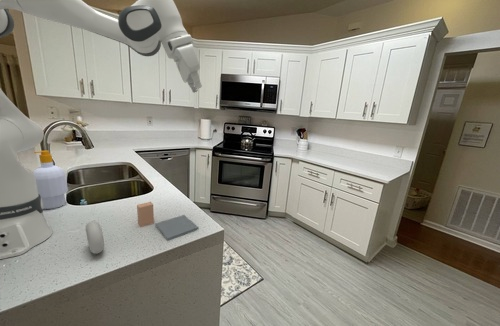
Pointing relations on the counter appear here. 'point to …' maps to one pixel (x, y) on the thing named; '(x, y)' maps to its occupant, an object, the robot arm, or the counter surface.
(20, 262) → the counter surface
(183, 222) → the coaster
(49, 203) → the soap bottle
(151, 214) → the block
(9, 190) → the robot arm
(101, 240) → the donut
